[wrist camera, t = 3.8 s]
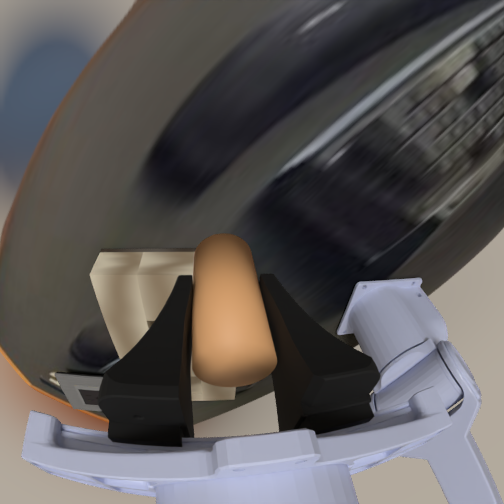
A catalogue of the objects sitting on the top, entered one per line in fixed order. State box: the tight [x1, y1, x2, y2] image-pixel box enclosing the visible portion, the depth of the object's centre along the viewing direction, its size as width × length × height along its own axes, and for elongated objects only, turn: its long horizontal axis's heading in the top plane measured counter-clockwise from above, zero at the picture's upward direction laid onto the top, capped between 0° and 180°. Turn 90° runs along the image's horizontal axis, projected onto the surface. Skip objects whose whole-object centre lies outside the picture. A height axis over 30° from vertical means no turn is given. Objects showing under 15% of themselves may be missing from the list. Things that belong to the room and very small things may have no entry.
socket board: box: [90, 248, 236, 401], centre depth 27 cm, size 12×20×4 cm, turn 175°
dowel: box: [192, 234, 277, 387], centre depth 13 cm, size 3×3×7 cm
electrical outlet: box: [55, 372, 103, 411], centre depth 34 cm, size 13×10×2 cm
